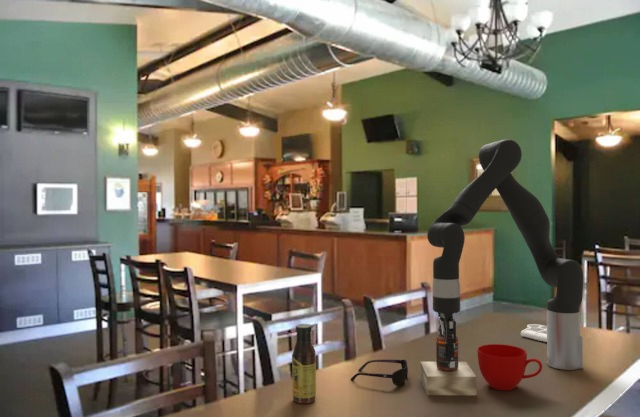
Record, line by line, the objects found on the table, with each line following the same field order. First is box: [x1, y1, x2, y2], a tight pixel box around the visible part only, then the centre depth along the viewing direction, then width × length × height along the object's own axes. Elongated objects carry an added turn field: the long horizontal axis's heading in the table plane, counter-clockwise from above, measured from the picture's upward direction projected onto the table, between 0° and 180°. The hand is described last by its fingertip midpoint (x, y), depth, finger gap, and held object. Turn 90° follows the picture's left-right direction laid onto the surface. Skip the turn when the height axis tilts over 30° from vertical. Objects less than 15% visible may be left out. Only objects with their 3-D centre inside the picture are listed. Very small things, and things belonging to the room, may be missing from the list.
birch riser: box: [420, 361, 478, 396], centre depth 145 cm, size 13×13×5 cm
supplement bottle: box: [435, 327, 459, 371], centre depth 145 cm, size 6×6×11 cm
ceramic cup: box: [476, 343, 543, 391], centre depth 144 cm, size 13×17×10 cm
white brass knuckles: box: [520, 323, 547, 343], centre depth 195 cm, size 3×18×15 cm
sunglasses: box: [350, 359, 409, 387], centre depth 153 cm, size 14×16×5 cm
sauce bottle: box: [291, 323, 317, 404], centre depth 137 cm, size 7×6×20 cm
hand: (447, 353), depth 145 cm, fingers open, 7 cm apart
